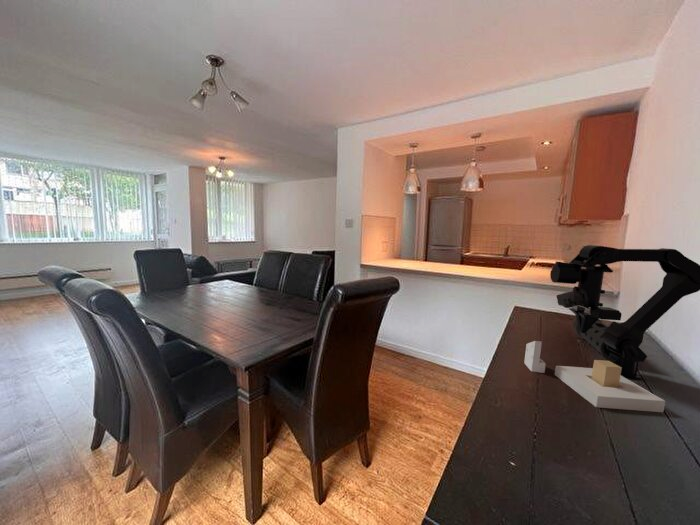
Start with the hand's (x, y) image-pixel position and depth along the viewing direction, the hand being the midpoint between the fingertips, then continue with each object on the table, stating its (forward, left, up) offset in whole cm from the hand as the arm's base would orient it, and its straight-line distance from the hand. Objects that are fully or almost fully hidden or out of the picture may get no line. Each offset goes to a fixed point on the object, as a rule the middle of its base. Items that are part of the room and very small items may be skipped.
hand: (582, 332), depth 91 cm
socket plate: (+3, +14, -12) cm, 19 cm away
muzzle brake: (-20, -18, -12) cm, 30 cm away
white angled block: (+15, +2, -12) cm, 19 cm away
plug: (+3, +14, -12) cm, 18 cm away
